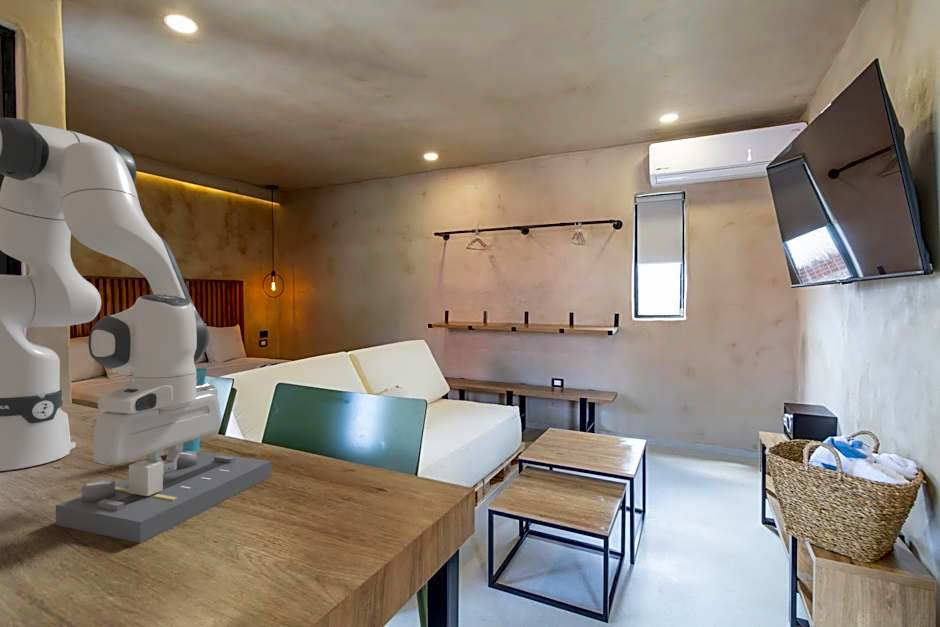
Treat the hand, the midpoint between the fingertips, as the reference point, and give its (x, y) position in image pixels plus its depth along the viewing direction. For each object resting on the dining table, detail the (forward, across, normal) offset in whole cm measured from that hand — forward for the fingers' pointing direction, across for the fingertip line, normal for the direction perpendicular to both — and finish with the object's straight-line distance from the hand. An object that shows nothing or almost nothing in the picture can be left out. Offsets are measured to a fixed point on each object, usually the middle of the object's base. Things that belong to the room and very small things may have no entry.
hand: (165, 473), depth 75 cm
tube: (+5, -20, -18) cm, 28 cm away
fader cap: (+2, +3, 0) cm, 4 cm away
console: (+5, -2, 0) cm, 6 cm away
